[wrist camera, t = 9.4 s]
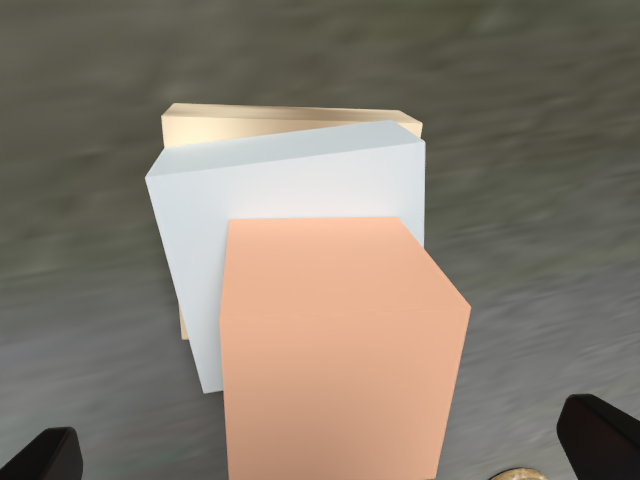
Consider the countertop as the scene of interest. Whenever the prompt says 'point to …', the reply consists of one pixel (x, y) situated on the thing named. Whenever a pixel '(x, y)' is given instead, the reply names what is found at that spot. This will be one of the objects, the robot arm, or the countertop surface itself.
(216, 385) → the grey-blue top slab
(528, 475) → the sprinkles bottle
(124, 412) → the countertop surface
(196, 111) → the oak base slab
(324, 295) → the terracotta cube
